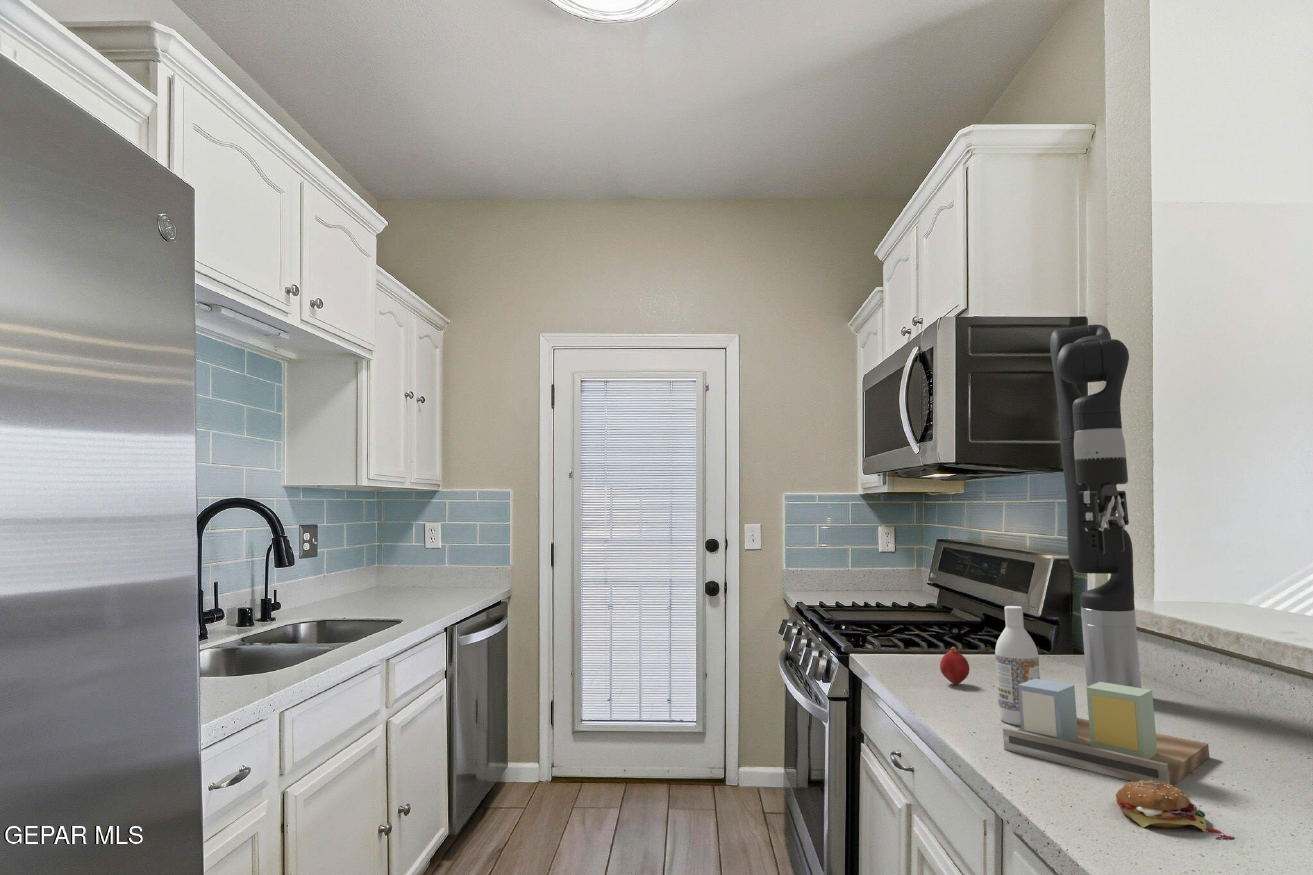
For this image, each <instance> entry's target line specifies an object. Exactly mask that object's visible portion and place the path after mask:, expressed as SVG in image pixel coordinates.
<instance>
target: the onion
mask: <svg viewBox="0 0 1313 875" xmlns="http://www.w3.org/2000/svg"><path fill="white" fill-rule="evenodd" d="M939 670H940V672H941V673H942V675H943V676H944V677H945V679H947V680H948V681H949V682H950V683H951V684H952V685H954V686H958V685H960V684H961V683H962V682H963V681H965V679H966V678H968V676H969V674H970V664H969V661H968V660H967V658H966V657H965V656H964V655H963V654H962V653H961V652H960V651H958V650H957V647H955V646H952V647H951V648H950V650H949V651H948V652H946V653H944V655H943V656H942V658H941V660H940V663H939Z"/></svg>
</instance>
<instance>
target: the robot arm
mask: <svg viewBox="0 0 1313 875" xmlns="http://www.w3.org/2000/svg"><path fill="white" fill-rule="evenodd" d="M1049 348H1050V357H1051V363H1052V370H1053V376H1054V384H1055V391H1056V396H1057V406H1058V422H1059V441H1060V442H1059V444H1060V452H1061V453H1060V454H1061V460H1062V461H1061V462H1062V468H1063V478H1064V486H1065V499H1066V529H1067V530H1066V533H1067V534H1066V535H1067V539H1066V540H1067V555H1068V561H1069V565H1070V566H1071V569H1072V570H1073V572H1075V573H1078V574H1089V575H1090V574H1095V575H1096V574H1102V575H1103V574H1106V575H1107V574H1110V577H1109V579H1108V580H1107V581H1106V582H1104V583H1103V584H1102V585H1100V586H1097V587H1095V588H1092V589H1088V590H1085V591H1083V592H1081V594H1080V596H1079V600H1080V614H1081V627H1082V641H1083V652H1084V666H1085V681H1086V687H1088V686H1091V685H1093V684H1095V683H1098V682H1104V683H1111V684H1117V685H1123V686H1130V687H1136V688H1142V681H1141V680H1142V679H1141V667H1140V656H1139V655H1140V654H1139V653H1140V652H1139V643H1138V635H1137V634H1138V632H1137V630H1138V629H1137V621H1136V609H1135V608H1136V607H1135V606H1136V605H1135V586H1134V585H1135V584H1134V582H1135V581H1134V551H1133V549H1134V548H1133V543H1132V538H1131V536H1130V533H1129V532H1128V531H1127V530H1126V526H1128V525H1129V524H1130V521H1129V511H1128V503H1127V493H1126V490H1118V487H1117V486H1118V485H1125V484H1128V482H1129V475H1128V463H1127V451H1126V450H1127V449H1126V442H1125V437H1124V434H1123V422H1122V412H1121V410H1122V409H1121V401H1122V400H1121V399H1122V398H1121V397H1122V391H1123V385H1124V381H1125V378H1126V373H1127V371H1128V370H1127V369H1128V365H1129V361H1130V353H1129V349H1128V348H1127V346H1126V345H1125V343H1124V342H1122V341H1121V340H1119V339H1115V338H1112V336H1111V333H1110V330H1109V329H1108V327H1106V326H1105V325H1102V324H1087V325H1086V324H1085V325H1080V326H1079V325H1078V326H1072V327H1065V328H1060V329H1059V328H1057V329H1054V330H1053V332H1052V333H1051V335H1050V341H1049ZM1097 382H1099V383H1100V382H1105V386H1104V387H1103V388H1102V390H1100V391H1098V392H1096V393H1092V394H1089V395H1085V396H1083V395H1082V393H1081V392H1080V390H1079V389H1078V387H1077V386H1076V384H1086V383H1097ZM1105 526H1106V527H1105Z"/></svg>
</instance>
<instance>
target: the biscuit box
mask: <svg viewBox="0 0 1313 875" xmlns="http://www.w3.org/2000/svg"><path fill="white" fill-rule="evenodd" d="M1075 689H1076V688H1075V684H1070V683H1063V682H1059V681H1058V682H1057V681H1052V680H1046V679H1041V678H1040V679H1032V680H1030V681H1027V682H1024V683H1021V684H1019V685H1018V693H1019V708H1020V723H1021V726H1020V729H1021V731H1023V732H1027V733H1032V734H1036V735H1041V736H1045V737H1050V738H1054V739H1059V740H1063V741H1068V742H1071V741H1073V740H1075V739H1076V738H1078V728H1077V718H1078V717H1077V704H1076V693H1075V691H1076V690H1075Z"/></svg>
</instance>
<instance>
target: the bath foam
mask: <svg viewBox="0 0 1313 875" xmlns="http://www.w3.org/2000/svg"><path fill="white" fill-rule="evenodd" d="M1004 621H1005V627H1004V629H1003V631H1002V632H1001V633H1000V636H999V637H998V639H997V641H996V644H995V651H994V656H995V669H996V670H995V672H996V685H997V701H998V702H997V703H998V714H999V715H998V716H999V719H1000V720H1001V721H1002V722H1004V723H1006V724H1010V725H1013V726H1019V727H1021V723H1020V708H1019V693H1018V685H1019V684H1021V683H1024V682H1027V681H1030V680H1032V679H1041V675H1040V674H1041V672H1040V661H1039V660H1040V659H1039V658H1040V656H1039V652H1038V649H1037V646H1036V643H1035V642H1034V640H1033V638H1032V637H1031V635H1030V634H1029V633H1028V631H1027V630H1026V628H1025V627H1024V611H1023V607H1022V606H1019V605H1018V606H1017V605H1005V606H1004Z"/></svg>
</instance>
